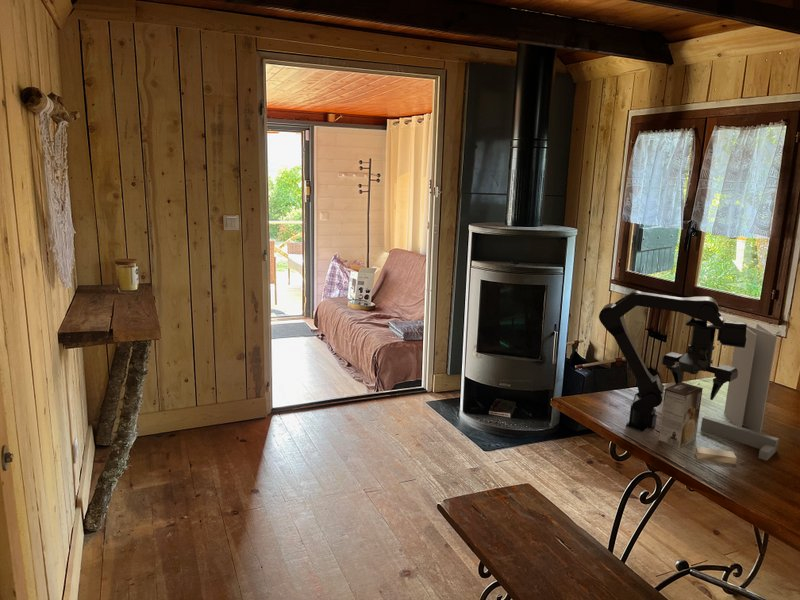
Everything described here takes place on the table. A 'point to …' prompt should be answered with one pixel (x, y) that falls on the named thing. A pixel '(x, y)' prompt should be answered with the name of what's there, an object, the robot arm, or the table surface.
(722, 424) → the bracket
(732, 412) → the brochure
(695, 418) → the coffee box
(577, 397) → the table surface
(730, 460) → the offcut upper
